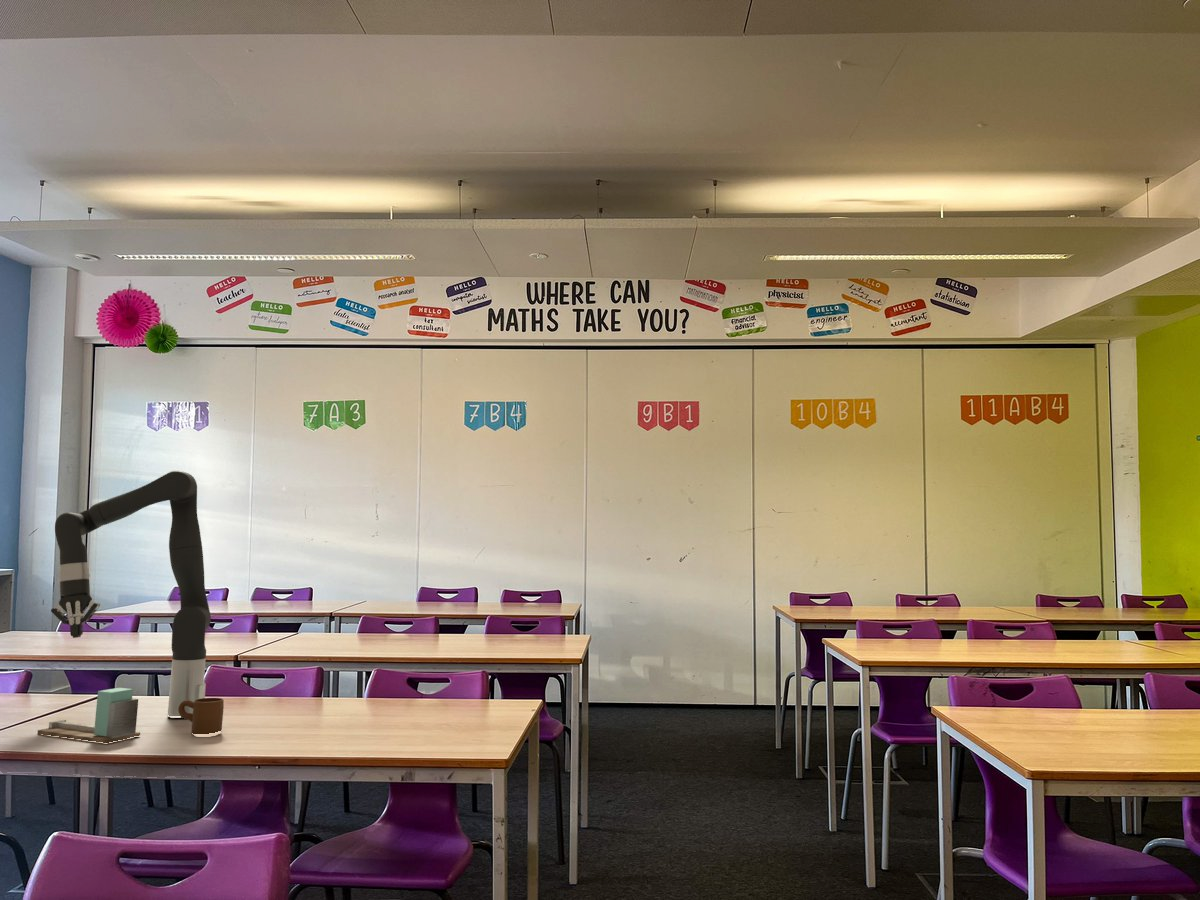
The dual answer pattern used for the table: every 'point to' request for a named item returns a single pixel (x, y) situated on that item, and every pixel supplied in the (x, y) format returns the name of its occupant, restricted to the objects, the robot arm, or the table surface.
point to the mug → (204, 714)
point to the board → (81, 735)
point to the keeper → (103, 707)
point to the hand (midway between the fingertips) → (76, 637)
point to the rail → (110, 720)
